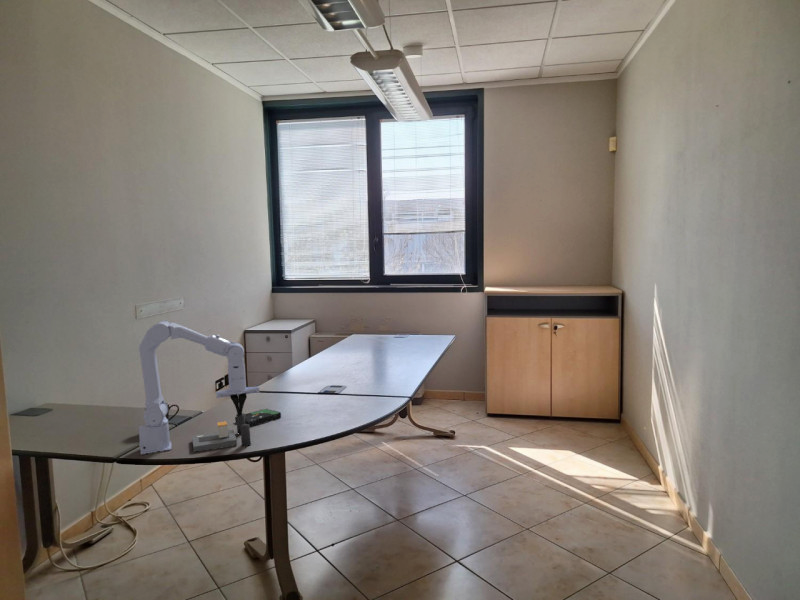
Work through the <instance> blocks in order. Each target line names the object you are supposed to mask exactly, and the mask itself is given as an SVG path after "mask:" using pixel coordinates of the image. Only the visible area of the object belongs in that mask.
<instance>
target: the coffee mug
mask: <svg viewBox="0 0 800 600" xmlns="http://www.w3.org/2000/svg"><path fill="white" fill-rule="evenodd" d="M164 402H165V403H166V405H167V406H168V413H167V414H166V416H165V417H166V418H167V419H168V423H169V422H170V421H171V420H172V419H173V418H174V417H175V416H177V414H178V413H179V411H180V407H179V406H178V405H177V404H171V405H170V402H168V401H164ZM173 407H176V408H177V410H176V412H175V413H174V414H173V415H172V416H171V417H169V416H170V415H169V414H170V410H171V408H173ZM145 410H146V409H145V405H144V411H145Z"/></svg>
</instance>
